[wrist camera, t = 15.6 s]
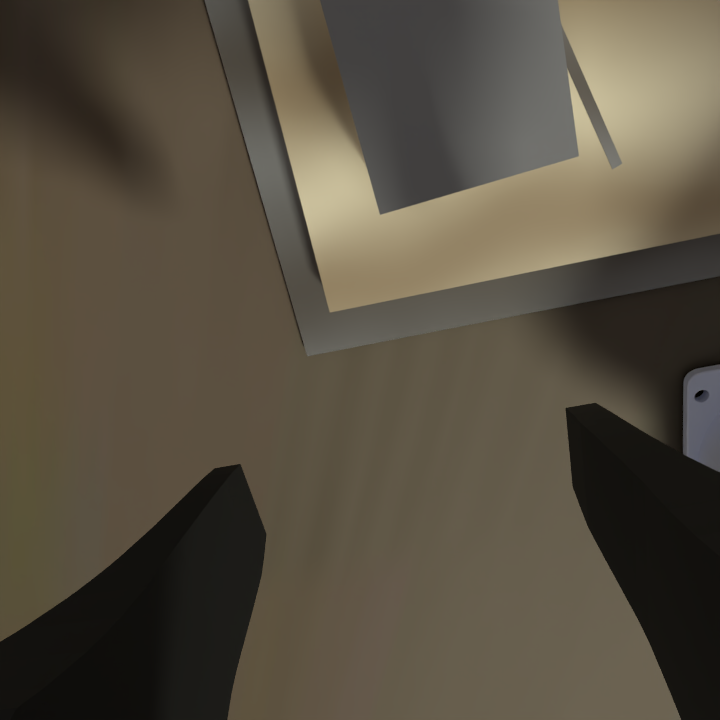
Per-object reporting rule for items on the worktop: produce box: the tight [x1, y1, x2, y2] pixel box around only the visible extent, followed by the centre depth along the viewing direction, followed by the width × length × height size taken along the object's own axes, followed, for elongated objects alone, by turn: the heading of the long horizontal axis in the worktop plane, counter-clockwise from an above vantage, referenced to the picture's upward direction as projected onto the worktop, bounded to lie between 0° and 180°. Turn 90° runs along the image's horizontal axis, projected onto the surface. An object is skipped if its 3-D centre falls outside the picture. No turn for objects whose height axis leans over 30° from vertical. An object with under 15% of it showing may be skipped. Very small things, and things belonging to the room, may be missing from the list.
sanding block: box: [320, 0, 579, 215], centre depth 13 cm, size 8×4×4 cm, turn 17°
